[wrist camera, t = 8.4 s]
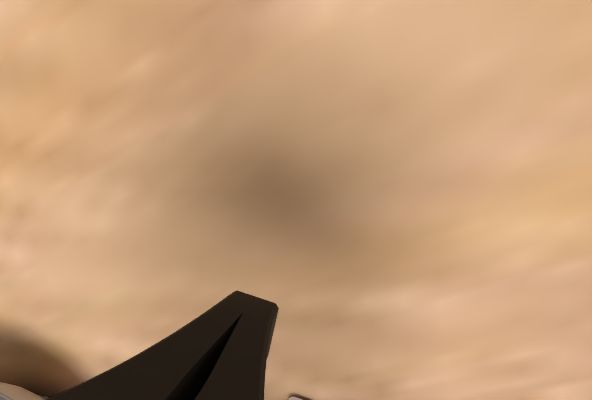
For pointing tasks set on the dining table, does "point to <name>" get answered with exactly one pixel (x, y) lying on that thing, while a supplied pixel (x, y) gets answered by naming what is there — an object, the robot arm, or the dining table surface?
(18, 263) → the dining table surface
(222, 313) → the robot arm
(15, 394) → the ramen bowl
